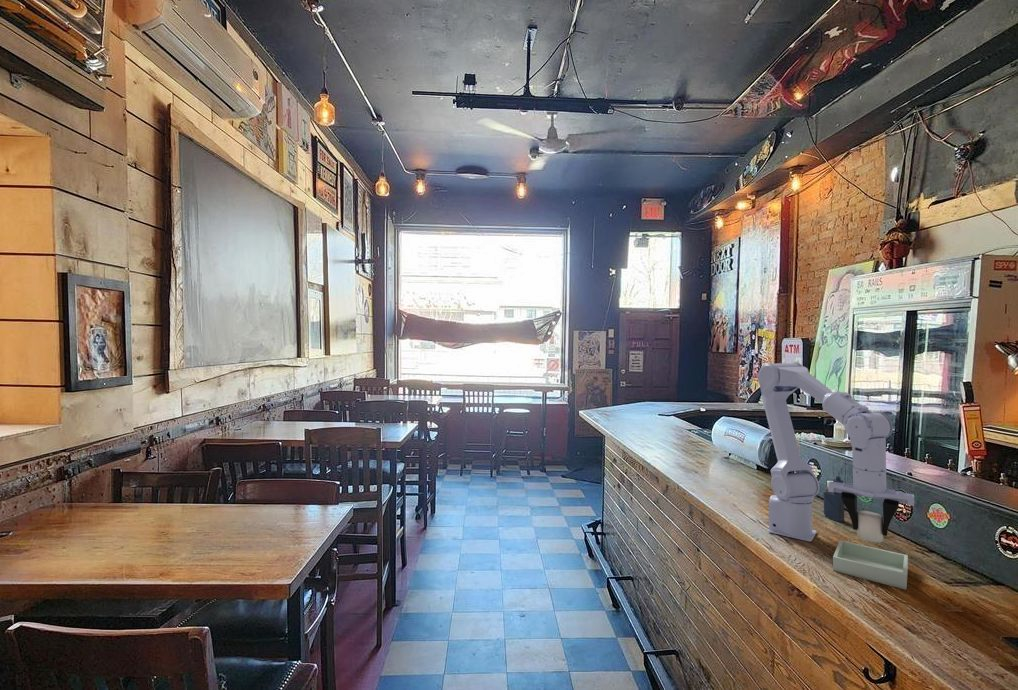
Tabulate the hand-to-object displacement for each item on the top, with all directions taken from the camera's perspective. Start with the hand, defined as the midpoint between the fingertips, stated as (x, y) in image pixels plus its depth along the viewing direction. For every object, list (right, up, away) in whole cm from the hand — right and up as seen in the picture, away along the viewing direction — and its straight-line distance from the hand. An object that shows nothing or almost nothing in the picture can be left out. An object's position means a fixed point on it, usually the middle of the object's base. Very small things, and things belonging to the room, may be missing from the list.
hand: (870, 531), depth 99 cm
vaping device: (+12, -8, +29) cm, 32 cm away
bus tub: (0, -8, 0) cm, 8 cm away
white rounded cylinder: (0, -1, 0) cm, 1 cm away
